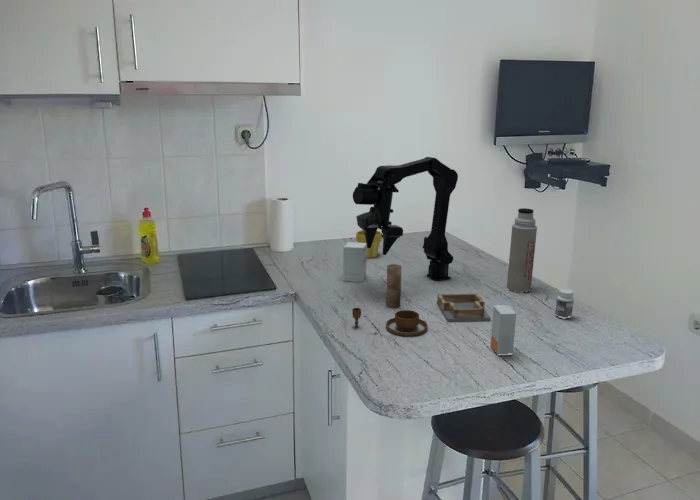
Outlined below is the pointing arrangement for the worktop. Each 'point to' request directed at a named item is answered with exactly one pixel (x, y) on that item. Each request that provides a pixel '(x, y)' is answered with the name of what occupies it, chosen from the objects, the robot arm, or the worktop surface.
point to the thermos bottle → (522, 251)
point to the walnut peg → (393, 286)
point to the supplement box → (354, 261)
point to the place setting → (399, 322)
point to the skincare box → (503, 329)
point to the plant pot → (375, 245)
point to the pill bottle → (564, 303)
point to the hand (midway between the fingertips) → (376, 251)
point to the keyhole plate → (462, 307)
